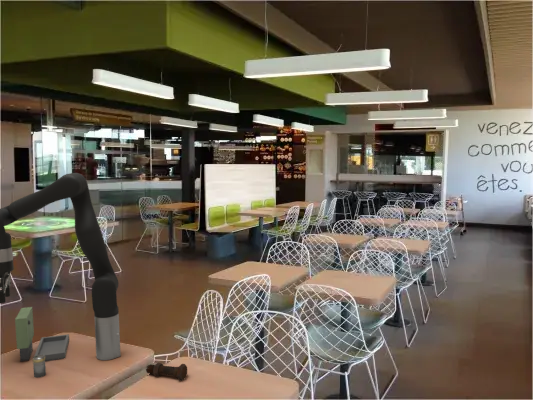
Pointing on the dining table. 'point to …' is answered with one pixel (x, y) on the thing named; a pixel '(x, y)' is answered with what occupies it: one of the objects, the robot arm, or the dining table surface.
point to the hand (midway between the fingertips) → (4, 299)
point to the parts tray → (53, 347)
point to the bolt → (167, 370)
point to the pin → (39, 366)
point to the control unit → (24, 333)
